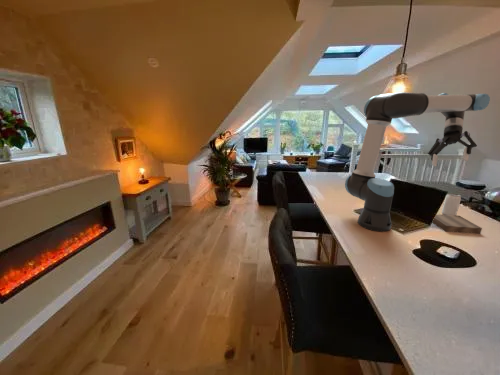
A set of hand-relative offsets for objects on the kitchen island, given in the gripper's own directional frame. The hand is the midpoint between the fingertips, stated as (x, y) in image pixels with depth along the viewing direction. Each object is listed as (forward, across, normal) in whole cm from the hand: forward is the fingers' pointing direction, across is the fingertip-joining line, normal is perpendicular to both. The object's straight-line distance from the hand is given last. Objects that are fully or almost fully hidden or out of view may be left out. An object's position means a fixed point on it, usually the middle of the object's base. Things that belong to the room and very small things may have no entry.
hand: (448, 162), depth 117 cm
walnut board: (+30, +2, -13) cm, 33 cm away
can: (+19, +11, -26) cm, 34 cm away
